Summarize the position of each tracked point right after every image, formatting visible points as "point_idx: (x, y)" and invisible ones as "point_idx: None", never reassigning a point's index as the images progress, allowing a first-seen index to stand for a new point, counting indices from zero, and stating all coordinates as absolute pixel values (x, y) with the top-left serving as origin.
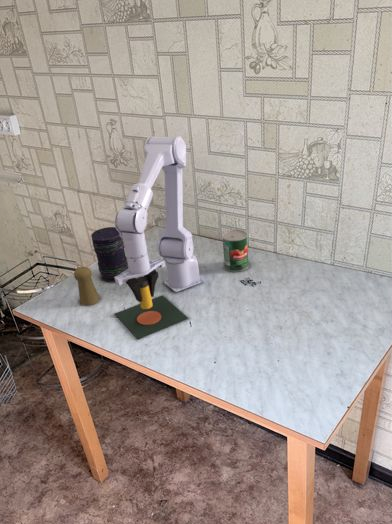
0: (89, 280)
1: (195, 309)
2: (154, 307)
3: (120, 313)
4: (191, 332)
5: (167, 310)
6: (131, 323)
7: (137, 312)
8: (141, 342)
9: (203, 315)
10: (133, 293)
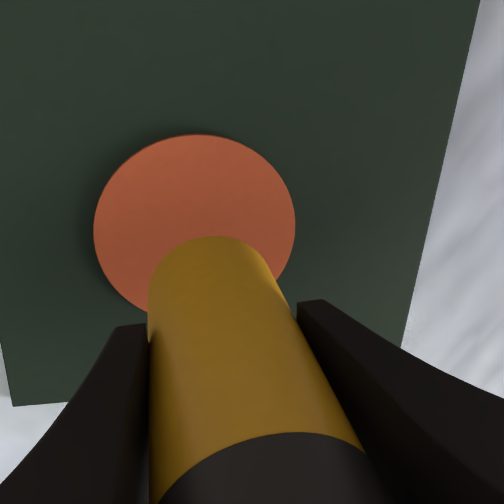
0: None
1: (486, 305)
2: (316, 114)
3: None
4: None
5: (360, 225)
6: (35, 215)
7: (154, 82)
8: (28, 434)
9: (466, 380)
10: (82, 384)
